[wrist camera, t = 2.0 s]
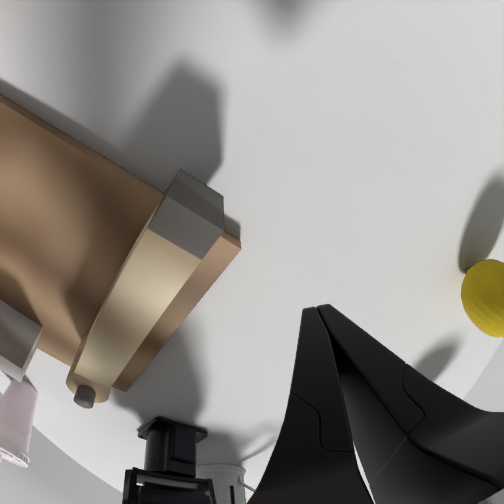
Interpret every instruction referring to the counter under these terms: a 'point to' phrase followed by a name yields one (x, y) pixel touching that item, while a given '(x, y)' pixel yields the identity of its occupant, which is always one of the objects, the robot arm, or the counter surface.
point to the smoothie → (17, 421)
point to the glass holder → (225, 482)
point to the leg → (148, 281)
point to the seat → (74, 247)
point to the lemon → (485, 296)
